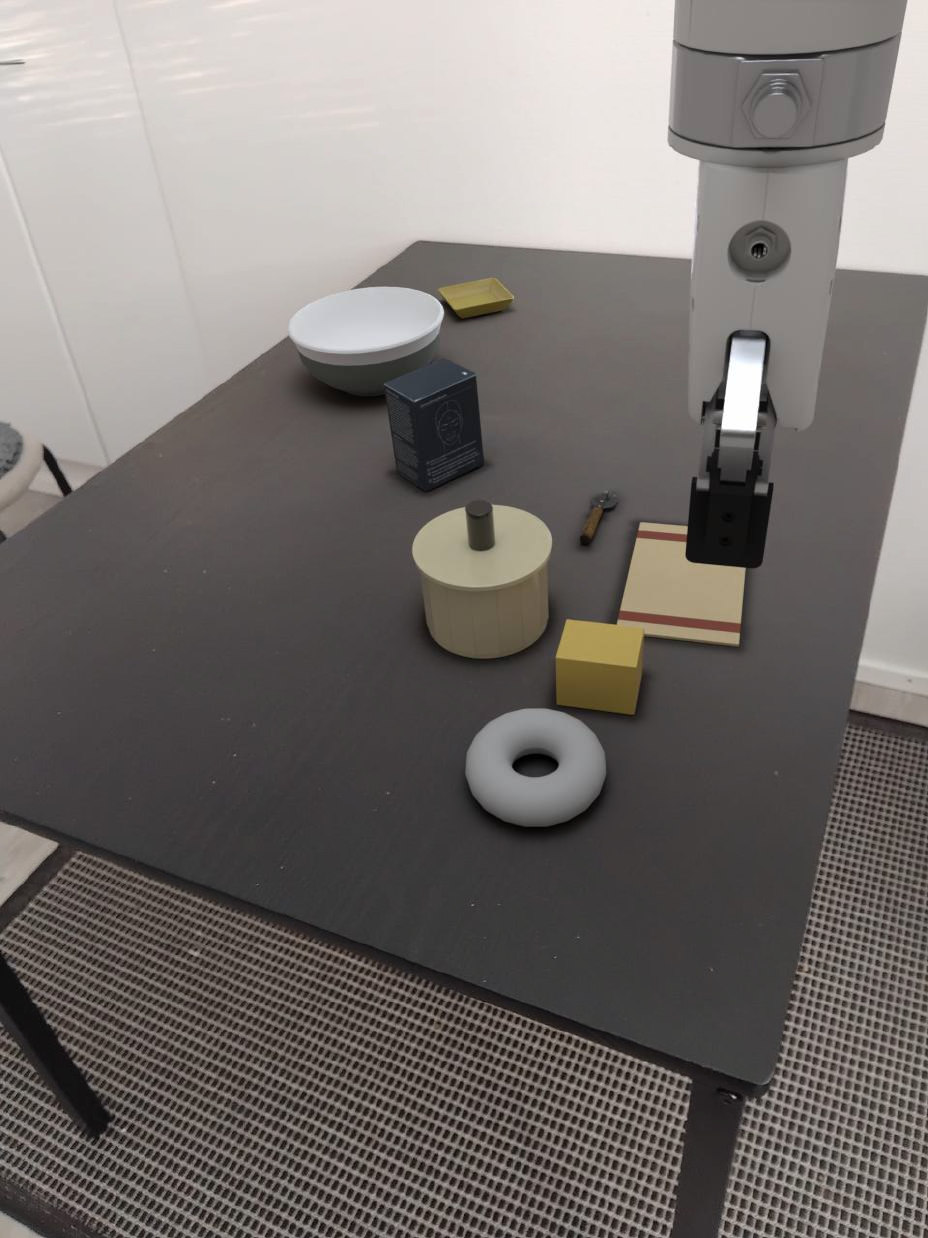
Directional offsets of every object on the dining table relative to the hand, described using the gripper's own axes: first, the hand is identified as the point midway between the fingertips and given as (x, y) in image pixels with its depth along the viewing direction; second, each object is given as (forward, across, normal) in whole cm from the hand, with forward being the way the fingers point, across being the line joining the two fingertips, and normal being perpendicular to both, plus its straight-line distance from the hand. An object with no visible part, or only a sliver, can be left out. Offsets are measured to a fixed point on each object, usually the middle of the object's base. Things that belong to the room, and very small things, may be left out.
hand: (730, 499), depth 46 cm
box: (+28, +45, +30) cm, 61 cm away
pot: (+28, +22, +19) cm, 41 cm away
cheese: (+28, +15, +8) cm, 33 cm away
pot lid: (+21, +22, +19) cm, 36 cm away
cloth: (+28, +30, +3) cm, 41 cm away
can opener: (+28, +38, +12) cm, 49 cm away
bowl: (+28, +64, +44) cm, 83 cm away
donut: (+28, +5, +11) cm, 31 cm away
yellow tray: (+28, +87, +37) cm, 99 cm away
